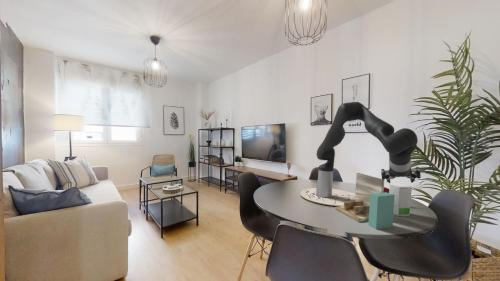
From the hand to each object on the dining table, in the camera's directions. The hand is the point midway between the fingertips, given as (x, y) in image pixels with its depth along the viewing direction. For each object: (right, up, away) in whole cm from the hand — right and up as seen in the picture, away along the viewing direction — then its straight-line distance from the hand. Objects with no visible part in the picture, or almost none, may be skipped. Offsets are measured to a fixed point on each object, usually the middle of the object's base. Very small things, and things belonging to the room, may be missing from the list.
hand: (400, 181), depth 97 cm
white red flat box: (+19, -20, +29) cm, 40 cm away
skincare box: (+10, -21, +15) cm, 27 cm away
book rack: (-14, -20, +12) cm, 27 cm away
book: (-10, -21, -1) cm, 23 cm away
